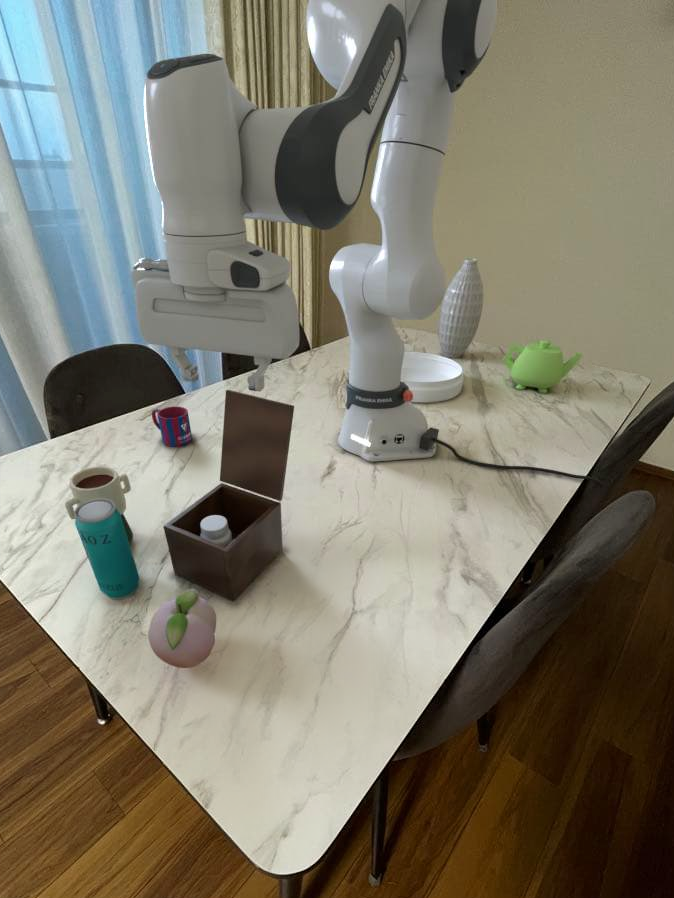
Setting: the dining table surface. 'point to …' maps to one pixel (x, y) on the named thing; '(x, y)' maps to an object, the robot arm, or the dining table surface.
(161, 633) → the decorative fruit
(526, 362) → the teapot
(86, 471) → the character mug
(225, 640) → the dining table surface
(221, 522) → the pill bottle
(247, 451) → the lid
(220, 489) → the box
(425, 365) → the white round dish
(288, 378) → the dining table surface
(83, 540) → the beverage can
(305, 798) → the dining table surface
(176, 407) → the cup
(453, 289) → the vase
